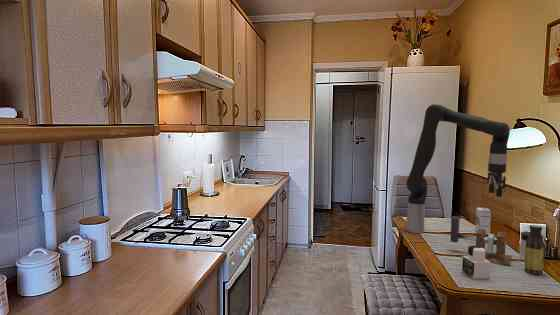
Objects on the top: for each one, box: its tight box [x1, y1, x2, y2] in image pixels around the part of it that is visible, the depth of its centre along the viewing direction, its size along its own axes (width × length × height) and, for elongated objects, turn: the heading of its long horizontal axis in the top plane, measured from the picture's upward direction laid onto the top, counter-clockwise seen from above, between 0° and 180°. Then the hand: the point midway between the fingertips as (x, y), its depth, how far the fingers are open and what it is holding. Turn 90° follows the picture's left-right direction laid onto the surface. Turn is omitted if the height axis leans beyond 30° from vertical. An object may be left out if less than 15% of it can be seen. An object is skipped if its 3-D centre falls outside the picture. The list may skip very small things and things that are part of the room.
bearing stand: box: [475, 229, 512, 267], centre depth 150 cm, size 16×12×12 cm
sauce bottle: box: [524, 224, 545, 275], centre depth 134 cm, size 6×6×20 cm
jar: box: [519, 231, 544, 262], centre depth 148 cm, size 9×8×12 cm
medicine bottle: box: [461, 244, 491, 280], centre depth 132 cm, size 7×7×12 cm
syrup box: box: [475, 207, 491, 236], centre depth 186 cm, size 6×6×14 cm
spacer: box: [486, 233, 495, 253], centre depth 150 cm, size 2×7×7 cm, turn 142°
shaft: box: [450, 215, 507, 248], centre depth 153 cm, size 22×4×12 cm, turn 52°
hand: (494, 194), depth 161 cm, fingers open, 8 cm apart
